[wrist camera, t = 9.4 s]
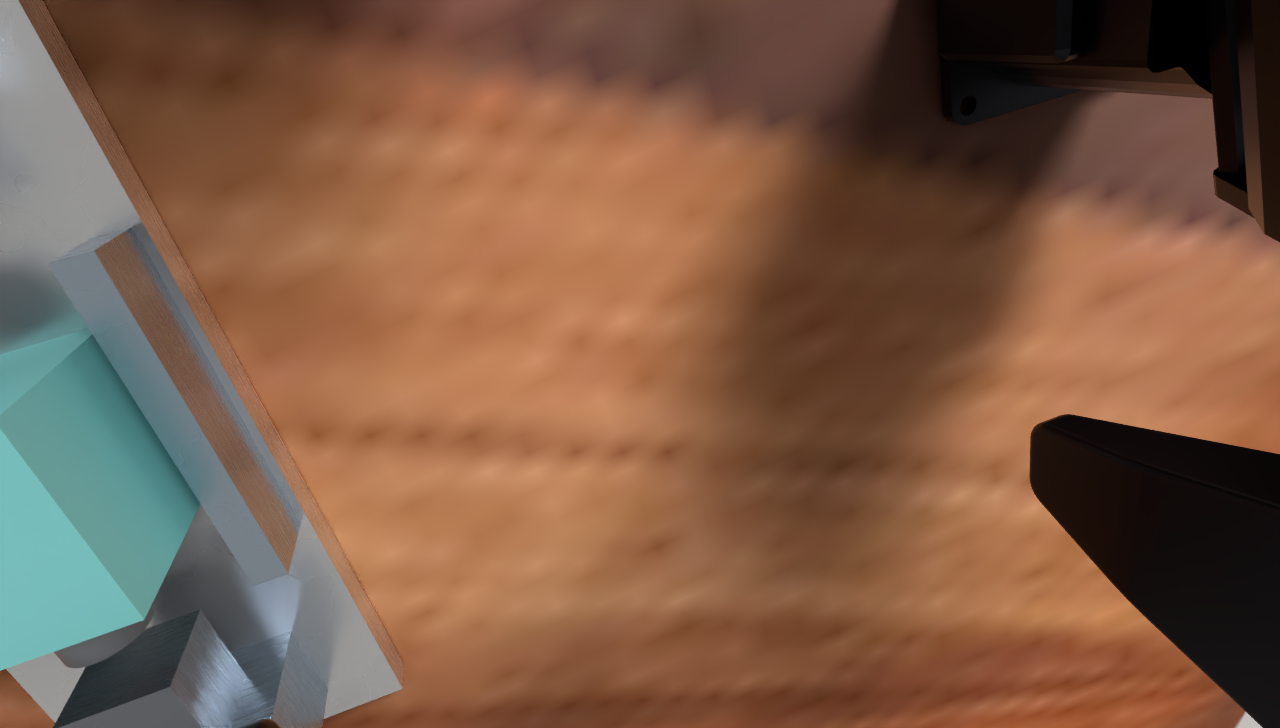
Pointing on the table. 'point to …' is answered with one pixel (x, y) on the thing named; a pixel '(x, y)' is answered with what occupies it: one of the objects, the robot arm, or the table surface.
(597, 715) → the table surface
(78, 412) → the coupler
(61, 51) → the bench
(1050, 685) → the table surface
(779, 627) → the table surface
